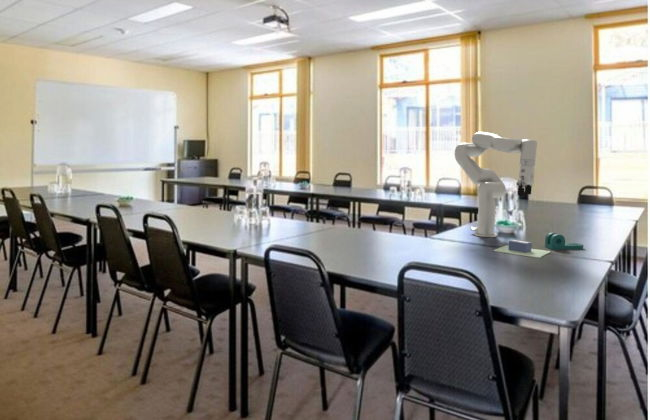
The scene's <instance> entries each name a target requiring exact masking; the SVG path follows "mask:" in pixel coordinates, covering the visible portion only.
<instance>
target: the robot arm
mask: <svg viewBox="0 0 650 420" xmlns="http://www.w3.org/2000/svg"><path fill="white" fill-rule="evenodd" d="M537 147H538V141H537V140H536V139H524V138H523V139H522V138H507V137H501V135H500V134H498V133H497V134H495V133H492V132H491V131H478V132H475V133H473V135H472V136H471V142H461V143H459V144H458V145H456V147H455V148H454V158H455V161H456V162H457V164H458V165H459V167H460V168H461V169H462V170H463V171H464V173H465V174H466V176H467V177H468V179H469V180H470V181H471V182H472V184H474V185H478V187H477V197H478V199H477V200H478V211H477V226H476V227H473V226H471V228H470V231H473V232H474V231H475V232H474V234H473V235H474V236H475V237H481V238H496V237H497V236H498V234H497V233H496V232H495V226H496V225H495V223H496V210H497V209H496V207H497V205H496V201H495V199H497V198H502V197H504V196H505V194H506V192H507V188H506V184H504V182H503V181H502V179H501V178H500V176H498V174H497V173H496V172H495V171H494V170H493V169H491V168H483V167H480V166H479V164H478V163H477V161H476V160H474V159H473V158H477V157H480V156H481V155H483V154H484V153H485V152H487V151H488V150H489V149H491V150H494V151H497V152H502V153H510V154H512V153H513V154H520V156H519V157H520V158H519V166H520V167H519V172H518V180H517V196H519V197H524V195H531V194H532V187H533V184H534V183H535V166H536V157H537V150H538V149H537Z"/></svg>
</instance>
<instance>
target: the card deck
mask: <svg viewBox="0 0 650 420" xmlns="http://www.w3.org/2000/svg"><path fill="white" fill-rule="evenodd" d="M532 244H533V243H532V241H526V240H518V239H512V240H509V241H508V245H509V248H508V250H513V251H518V252H524V253H527V252H531V249H532Z"/></svg>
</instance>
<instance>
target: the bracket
mask: <svg viewBox="0 0 650 420" xmlns="http://www.w3.org/2000/svg"><path fill="white" fill-rule="evenodd" d="M544 247H545V248H547V249H549V250H557V251H558V250H560V251H561V250H562V249H573V250H583V249H584V244H582V243H578V242H566V238H565V236H563V235H562V234H560V233H556V232H553V231H551V232H549V233H548V234H546V235H545V241H544Z"/></svg>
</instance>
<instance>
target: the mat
mask: <svg viewBox="0 0 650 420" xmlns="http://www.w3.org/2000/svg"><path fill="white" fill-rule="evenodd" d="M508 248H509V244H505V245H504V246H501V247H500V246H499V247H498V248H496V249H493V251H492V252H495V253H501V254H502V253H503V254H509V255H517V256H524V257H529V258H536V259H541V258H542V257H544V256H546V255H548V254H549V253H551V251H550V250H544V249H535V248H531V252H527V253H524V252H518V251H513V250H508Z"/></svg>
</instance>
